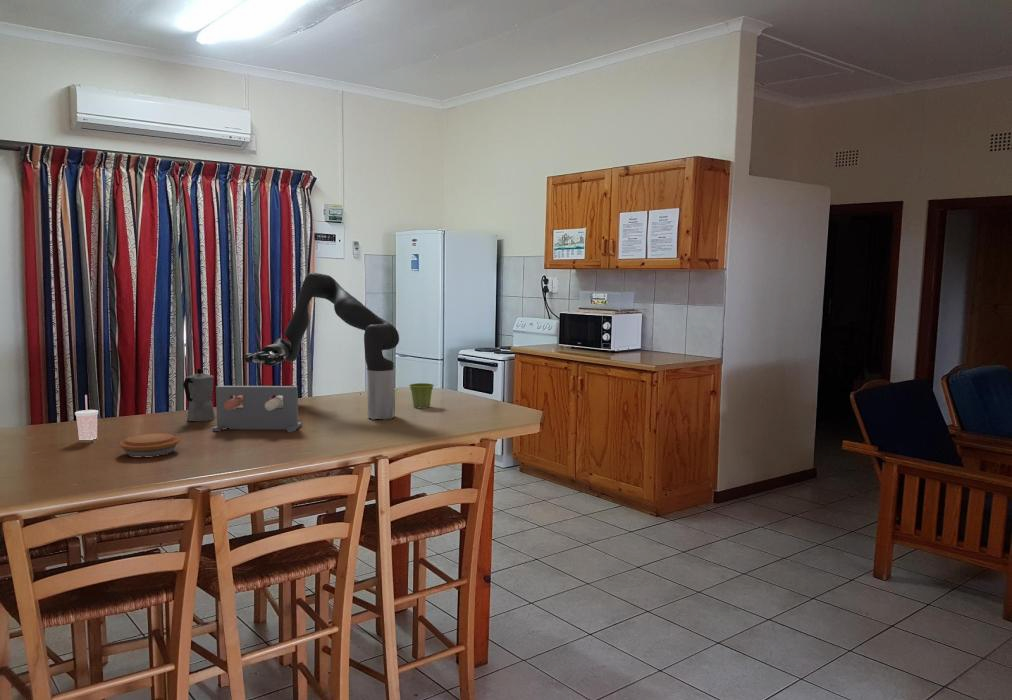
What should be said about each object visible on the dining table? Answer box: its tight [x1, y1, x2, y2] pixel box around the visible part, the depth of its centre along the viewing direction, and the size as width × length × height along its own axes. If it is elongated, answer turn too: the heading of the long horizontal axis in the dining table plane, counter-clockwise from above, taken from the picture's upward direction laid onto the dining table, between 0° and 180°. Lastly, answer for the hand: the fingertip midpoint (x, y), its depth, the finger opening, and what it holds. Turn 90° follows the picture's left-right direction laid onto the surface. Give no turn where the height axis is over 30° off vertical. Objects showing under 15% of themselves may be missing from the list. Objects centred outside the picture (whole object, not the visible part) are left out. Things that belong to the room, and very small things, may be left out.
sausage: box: [223, 395, 243, 410], centre depth 241 cm, size 5×15×5 cm, turn 0°
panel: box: [211, 385, 303, 433], centre depth 242 cm, size 26×10×14 cm, turn 90°
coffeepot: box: [182, 368, 216, 422], centre depth 255 cm, size 15×9×18 cm, turn 169°
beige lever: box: [265, 396, 283, 411], centre depth 241 cm, size 5×15×5 cm, turn 0°
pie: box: [119, 432, 181, 457], centre depth 208 cm, size 16×16×5 cm
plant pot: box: [408, 382, 435, 408], centre depth 284 cm, size 9×9×9 cm
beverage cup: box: [74, 394, 99, 441], centre depth 223 cm, size 6×6×14 cm
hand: (258, 359), depth 262 cm, fingers open, 7 cm apart
